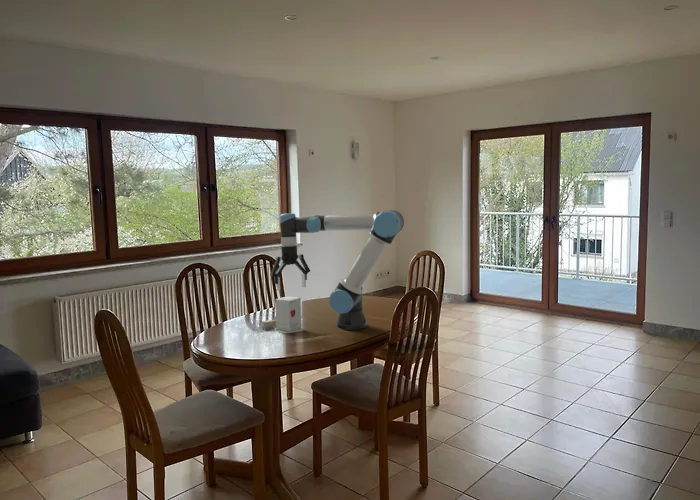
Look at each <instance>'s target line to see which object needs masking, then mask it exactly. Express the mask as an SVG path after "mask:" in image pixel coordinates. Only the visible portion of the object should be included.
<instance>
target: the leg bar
mask: <svg viewBox="0 0 700 500" xmlns="http://www.w3.org/2000/svg"><path fill="white" fill-rule="evenodd" d="M267 321H273V329H274V328H276V318H275V319H270V320H261V329H263V330H264V322H267Z"/></svg>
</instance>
